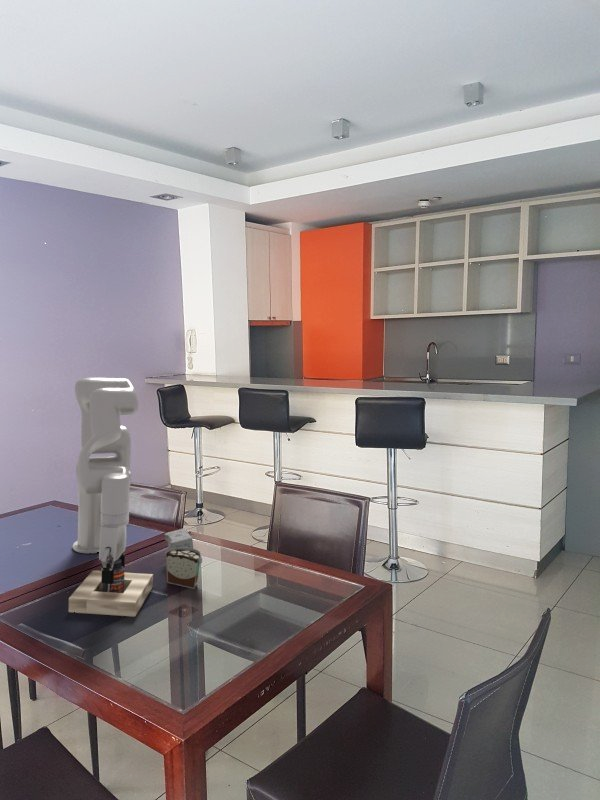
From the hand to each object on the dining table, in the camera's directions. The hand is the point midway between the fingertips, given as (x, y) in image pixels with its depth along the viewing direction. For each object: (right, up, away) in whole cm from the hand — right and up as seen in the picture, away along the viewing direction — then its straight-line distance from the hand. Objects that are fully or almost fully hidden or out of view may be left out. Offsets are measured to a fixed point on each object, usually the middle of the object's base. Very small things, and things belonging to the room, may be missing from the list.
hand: (113, 575), depth 166 cm
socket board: (0, -7, +1) cm, 7 cm away
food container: (+18, -7, +15) cm, 24 cm away
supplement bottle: (0, -7, +1) cm, 7 cm away
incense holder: (+13, -5, +28) cm, 31 cm away
